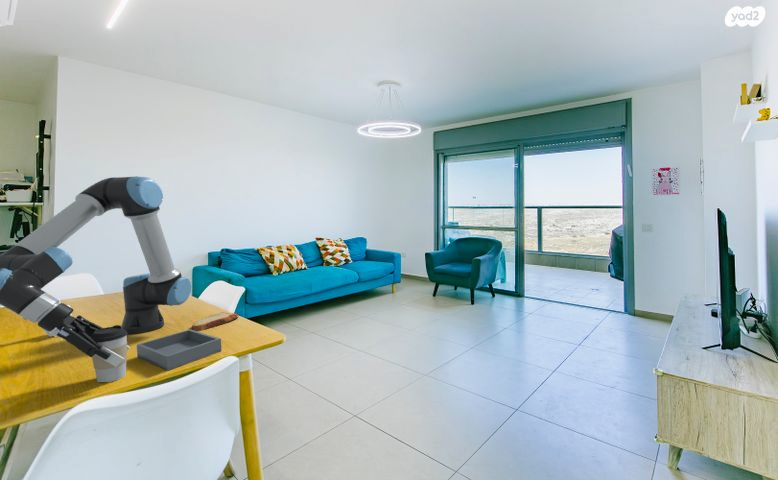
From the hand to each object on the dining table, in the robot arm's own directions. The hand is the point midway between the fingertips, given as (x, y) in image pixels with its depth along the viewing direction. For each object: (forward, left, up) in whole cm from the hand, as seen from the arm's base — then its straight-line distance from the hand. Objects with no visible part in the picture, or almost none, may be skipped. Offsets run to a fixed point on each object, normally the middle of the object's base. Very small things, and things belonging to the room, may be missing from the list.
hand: (123, 356), depth 107 cm
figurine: (-66, +2, -6) cm, 66 cm away
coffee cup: (-2, -3, -6) cm, 7 cm away
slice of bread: (-23, +44, -6) cm, 50 cm away
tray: (-2, +17, -6) cm, 18 cm away
